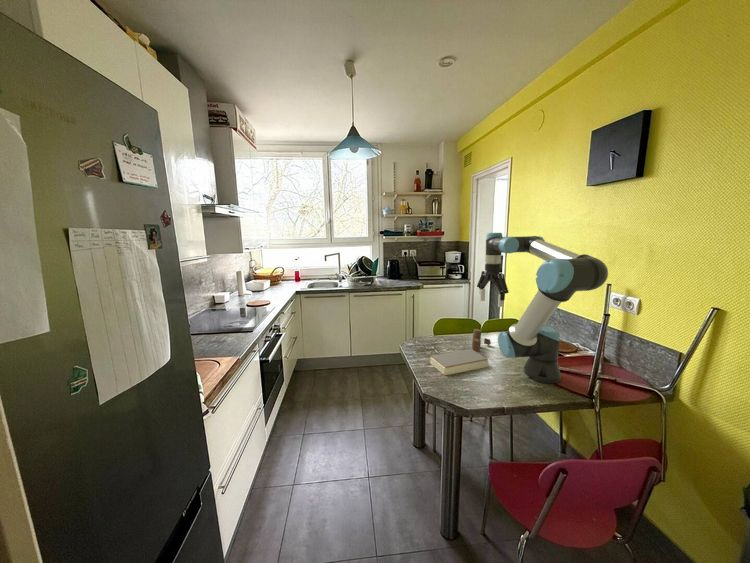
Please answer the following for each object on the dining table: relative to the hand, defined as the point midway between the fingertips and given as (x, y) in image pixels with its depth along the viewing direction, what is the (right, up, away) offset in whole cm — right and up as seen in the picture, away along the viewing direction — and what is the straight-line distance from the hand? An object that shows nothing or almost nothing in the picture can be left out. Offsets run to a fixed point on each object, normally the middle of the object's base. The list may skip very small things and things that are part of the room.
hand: (491, 303), depth 154 cm
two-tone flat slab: (-19, -30, -6) cm, 36 cm away
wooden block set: (-2, -27, +13) cm, 30 cm away
